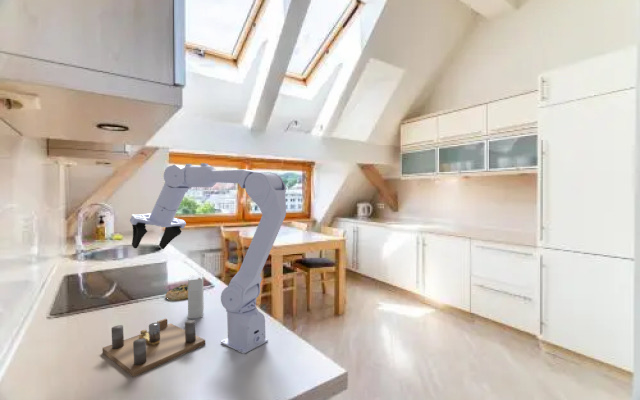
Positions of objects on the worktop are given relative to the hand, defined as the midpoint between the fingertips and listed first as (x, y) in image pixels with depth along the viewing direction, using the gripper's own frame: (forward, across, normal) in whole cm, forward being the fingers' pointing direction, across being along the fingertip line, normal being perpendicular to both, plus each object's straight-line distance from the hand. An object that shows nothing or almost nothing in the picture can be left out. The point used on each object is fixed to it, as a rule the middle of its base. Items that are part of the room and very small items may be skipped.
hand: (148, 246), depth 89 cm
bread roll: (+26, -25, -7) cm, 37 cm away
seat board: (+15, +1, +22) cm, 27 cm away
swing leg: (+15, +1, +20) cm, 25 cm away
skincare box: (+17, -17, +12) cm, 27 cm away
